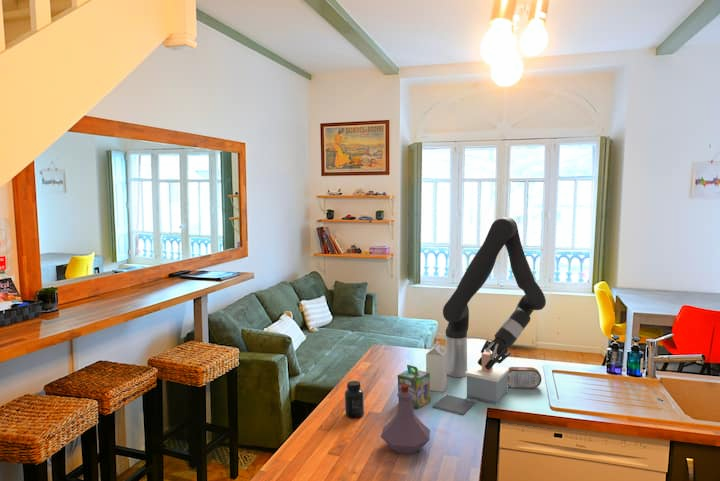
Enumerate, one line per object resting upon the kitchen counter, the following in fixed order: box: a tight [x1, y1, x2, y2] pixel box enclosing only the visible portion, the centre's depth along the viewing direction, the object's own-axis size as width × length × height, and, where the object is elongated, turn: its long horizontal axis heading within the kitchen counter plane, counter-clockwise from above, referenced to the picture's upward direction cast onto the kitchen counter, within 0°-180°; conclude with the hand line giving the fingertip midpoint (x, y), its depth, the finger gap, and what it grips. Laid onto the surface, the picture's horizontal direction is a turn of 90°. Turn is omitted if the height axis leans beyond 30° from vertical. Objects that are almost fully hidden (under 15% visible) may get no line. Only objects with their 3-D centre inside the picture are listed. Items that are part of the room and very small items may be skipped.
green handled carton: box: [397, 364, 431, 410], centre depth 186 cm, size 9×9×15 cm
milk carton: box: [425, 340, 448, 393], centre depth 198 cm, size 7×7×19 cm
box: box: [466, 374, 508, 405], centre depth 190 cm, size 12×12×9 cm
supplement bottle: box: [344, 380, 365, 419], centre depth 176 cm, size 7×7×12 cm
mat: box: [432, 394, 477, 416], centre depth 183 cm, size 12×12×1 cm
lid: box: [465, 350, 510, 382], centre depth 190 cm, size 13×13×8 cm
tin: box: [507, 366, 542, 390], centre depth 197 cm, size 15×3×8 cm, turn 84°
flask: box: [380, 384, 431, 455], centre depth 153 cm, size 16×16×20 cm
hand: (483, 366), depth 189 cm, fingers closed on lid, 4 cm apart
